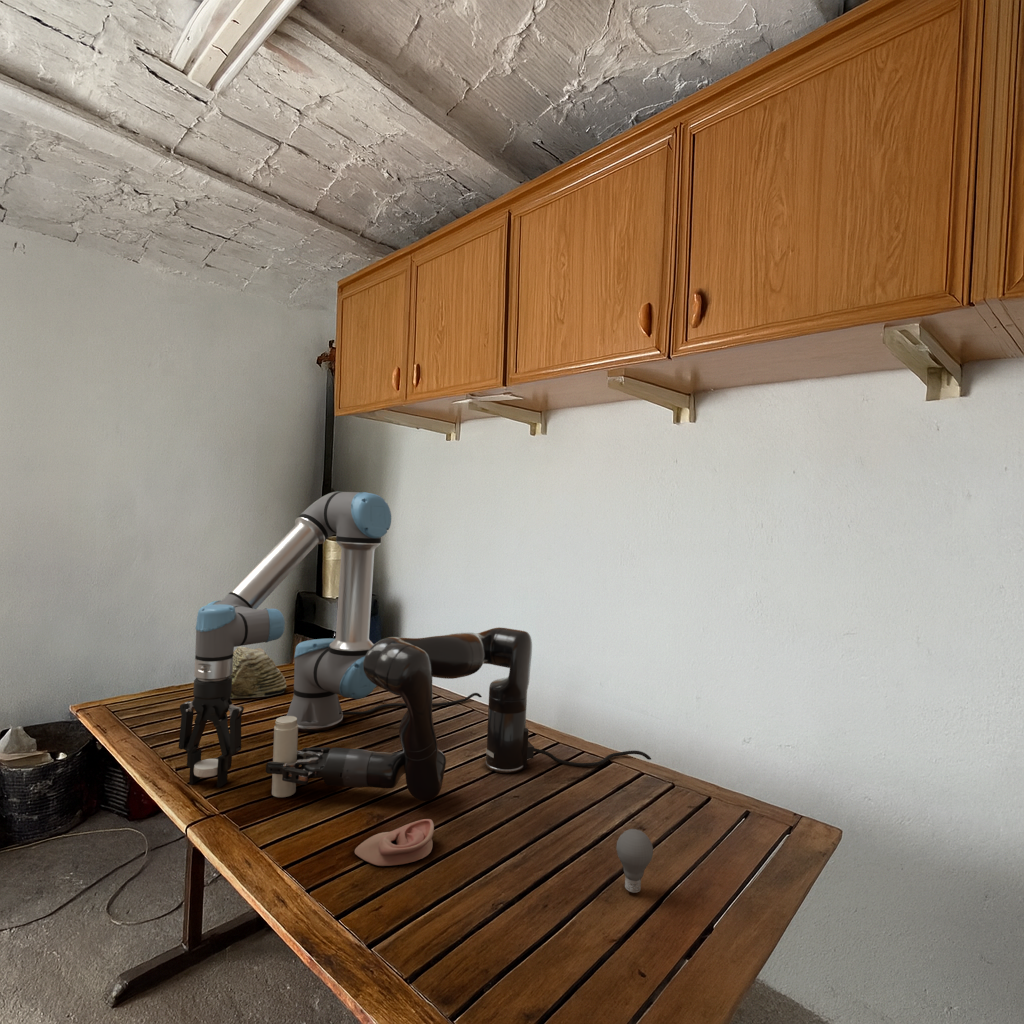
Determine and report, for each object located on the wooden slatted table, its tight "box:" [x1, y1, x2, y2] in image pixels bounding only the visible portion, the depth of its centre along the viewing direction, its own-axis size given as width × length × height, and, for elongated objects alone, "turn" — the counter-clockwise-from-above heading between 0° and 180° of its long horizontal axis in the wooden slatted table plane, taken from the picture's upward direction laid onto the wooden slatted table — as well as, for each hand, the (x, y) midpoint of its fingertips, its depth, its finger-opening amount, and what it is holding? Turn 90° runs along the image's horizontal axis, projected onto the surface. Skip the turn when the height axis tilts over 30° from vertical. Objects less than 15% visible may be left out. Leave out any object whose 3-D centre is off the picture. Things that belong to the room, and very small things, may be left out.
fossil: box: [230, 646, 288, 699], centre depth 198 cm, size 9×18×15 cm, turn 132°
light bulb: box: [615, 828, 654, 894], centre depth 106 cm, size 6×6×10 cm
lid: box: [194, 758, 218, 778], centre depth 137 cm, size 6×6×2 cm
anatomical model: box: [354, 818, 435, 867], centre depth 115 cm, size 13×4×12 cm
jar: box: [271, 715, 299, 798], centre depth 135 cm, size 5×5×16 cm
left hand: (208, 783), depth 138 cm, fingers closed on lid, 6 cm apart
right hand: (272, 762), depth 135 cm, fingers closed on jar, 5 cm apart
